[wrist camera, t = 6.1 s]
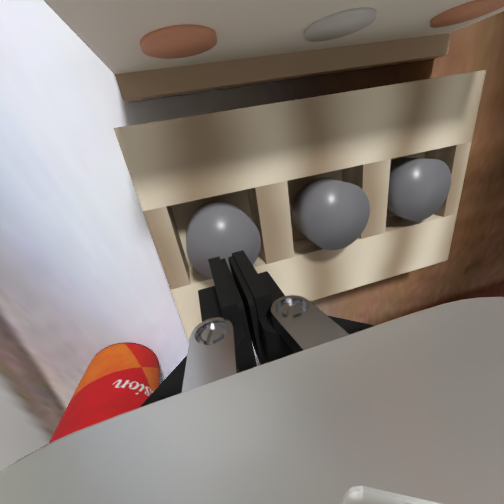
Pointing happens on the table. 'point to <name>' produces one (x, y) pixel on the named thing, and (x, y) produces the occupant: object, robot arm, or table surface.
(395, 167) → the button
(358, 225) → the middle button
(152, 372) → the paper cup
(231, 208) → the button
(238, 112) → the button board
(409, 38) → the pattern card
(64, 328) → the table surface
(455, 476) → the robot arm
